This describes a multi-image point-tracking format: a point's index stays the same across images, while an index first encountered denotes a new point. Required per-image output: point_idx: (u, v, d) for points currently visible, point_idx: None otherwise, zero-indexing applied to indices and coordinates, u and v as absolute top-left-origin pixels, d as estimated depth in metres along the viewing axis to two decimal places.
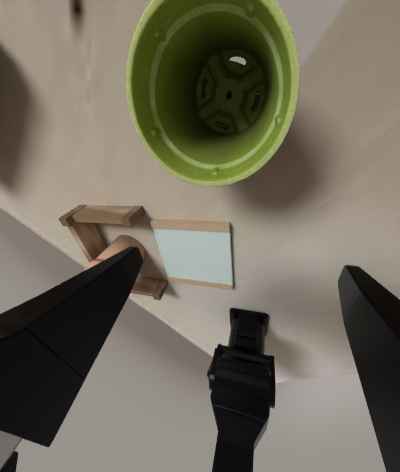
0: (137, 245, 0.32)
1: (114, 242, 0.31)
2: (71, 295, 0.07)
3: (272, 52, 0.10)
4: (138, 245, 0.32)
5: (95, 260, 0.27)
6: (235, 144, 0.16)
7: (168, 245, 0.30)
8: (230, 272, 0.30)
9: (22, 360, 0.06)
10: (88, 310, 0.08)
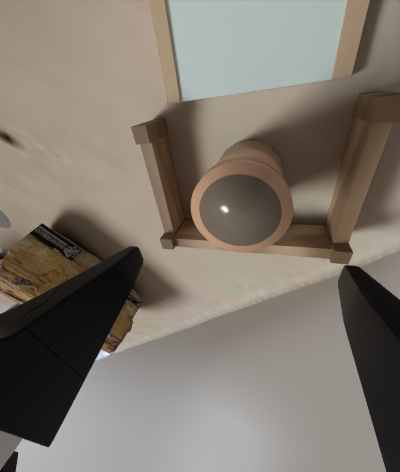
0: (228, 149, 0.16)
1: None
2: (71, 295, 0.07)
3: None
4: (230, 148, 0.16)
5: None
6: None
7: (220, 64, 0.13)
8: None
9: (22, 360, 0.06)
10: (88, 310, 0.08)
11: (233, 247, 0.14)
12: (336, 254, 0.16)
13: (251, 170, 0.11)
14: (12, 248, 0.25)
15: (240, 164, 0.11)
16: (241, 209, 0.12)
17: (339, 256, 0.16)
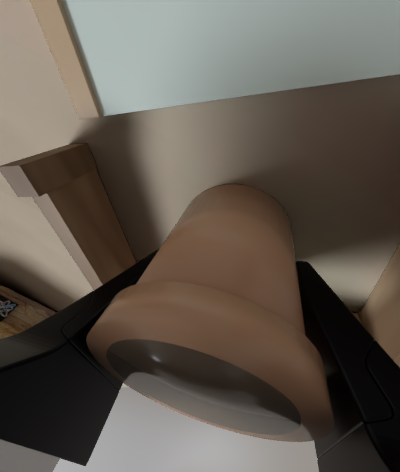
0: (195, 200, 0.09)
1: None
2: (109, 302, 0.06)
3: None
4: (198, 198, 0.09)
5: None
6: None
7: (162, 38, 0.06)
8: None
9: (64, 375, 0.05)
10: None
11: (195, 417, 0.07)
12: None
13: (212, 349, 0.03)
14: None
15: (178, 331, 0.03)
16: (199, 391, 0.05)
17: None
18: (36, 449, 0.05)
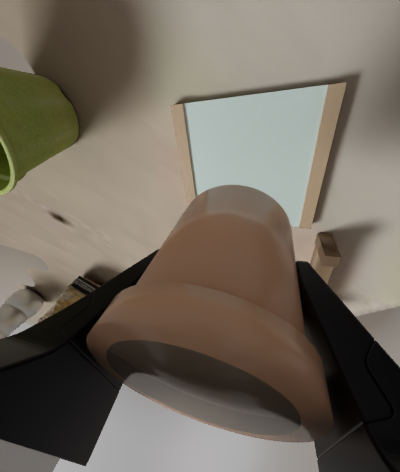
0: (195, 201, 0.09)
1: None
2: (109, 302, 0.06)
3: None
4: (198, 198, 0.09)
5: None
6: None
7: None
8: (283, 93, 0.14)
9: (64, 375, 0.05)
10: None
11: (195, 417, 0.07)
12: None
13: (212, 350, 0.03)
14: (59, 299, 0.31)
15: (178, 332, 0.03)
16: (199, 392, 0.05)
17: None
18: (36, 449, 0.05)
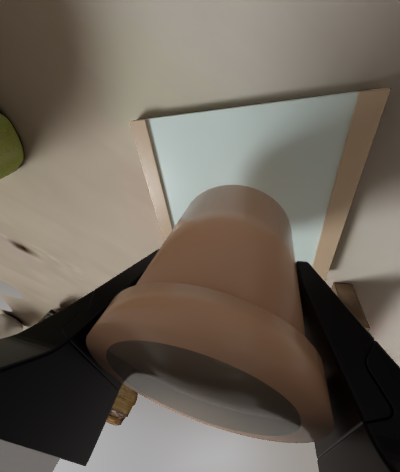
0: (195, 201, 0.09)
1: None
2: (109, 302, 0.06)
3: None
4: (198, 199, 0.09)
5: None
6: None
7: None
8: (288, 105, 0.09)
9: (63, 375, 0.05)
10: None
11: (195, 417, 0.07)
12: None
13: (212, 350, 0.03)
14: None
15: (177, 333, 0.03)
16: (199, 392, 0.05)
17: None
18: (36, 449, 0.05)
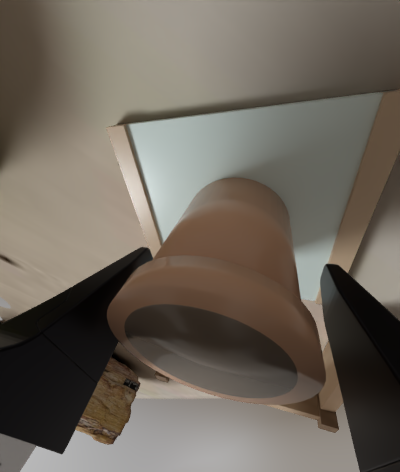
0: (200, 193, 0.10)
1: None
2: (85, 298, 0.07)
3: None
4: (203, 190, 0.10)
5: None
6: None
7: None
8: (294, 109, 0.07)
9: (37, 365, 0.06)
10: (101, 313, 0.07)
11: (202, 388, 0.08)
12: (323, 425, 0.16)
13: (222, 307, 0.04)
14: None
15: (193, 292, 0.04)
16: (208, 355, 0.06)
17: (326, 427, 0.16)
18: (9, 435, 0.05)
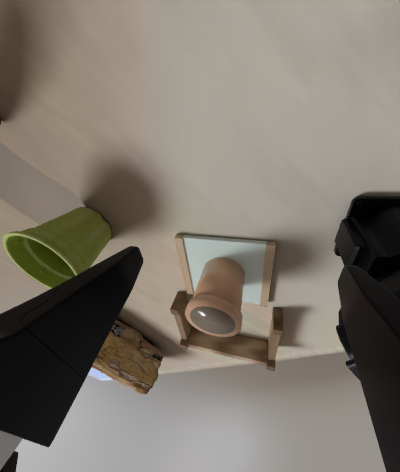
0: (210, 263, 0.25)
1: None
2: (71, 295, 0.07)
3: None
4: (211, 262, 0.25)
5: None
6: None
7: None
8: (241, 243, 0.23)
9: (22, 360, 0.06)
10: (88, 310, 0.08)
11: (210, 333, 0.23)
12: (268, 367, 0.32)
13: (217, 307, 0.20)
14: None
15: (211, 304, 0.20)
16: (213, 319, 0.21)
17: (269, 367, 0.32)
18: None
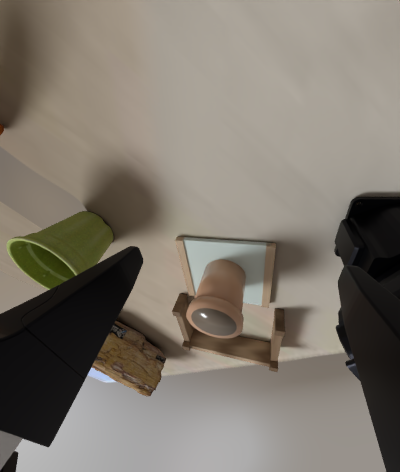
0: (211, 265, 0.26)
1: None
2: (71, 295, 0.07)
3: None
4: (212, 264, 0.25)
5: None
6: None
7: None
8: (242, 245, 0.23)
9: (22, 360, 0.06)
10: (88, 310, 0.08)
11: (212, 334, 0.23)
12: (270, 368, 0.32)
13: (218, 308, 0.20)
14: None
15: (212, 305, 0.20)
16: (214, 321, 0.21)
17: (272, 368, 0.32)
18: None
